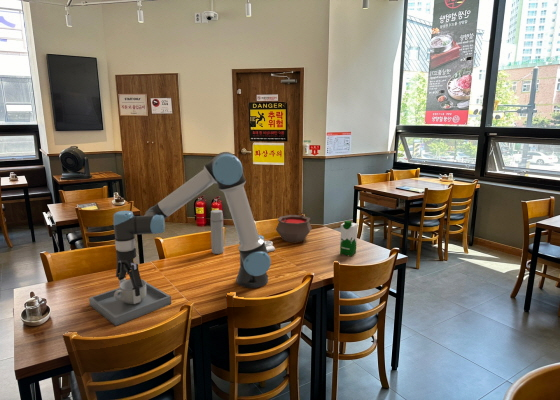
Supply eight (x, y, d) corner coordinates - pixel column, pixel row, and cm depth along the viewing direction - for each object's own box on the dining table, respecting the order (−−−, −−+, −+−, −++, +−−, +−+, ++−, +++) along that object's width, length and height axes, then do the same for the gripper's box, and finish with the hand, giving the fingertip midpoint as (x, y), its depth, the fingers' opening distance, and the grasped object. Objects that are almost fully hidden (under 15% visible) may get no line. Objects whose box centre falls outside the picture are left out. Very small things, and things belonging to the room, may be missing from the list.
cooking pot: (288, 231, 264) (288, 208, 260) (318, 237, 250) (319, 214, 247) (268, 240, 244) (268, 216, 241) (299, 247, 231) (299, 221, 227)
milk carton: (338, 254, 220) (339, 221, 215) (344, 249, 227) (345, 217, 223) (352, 257, 215) (353, 223, 211) (358, 252, 222) (359, 219, 218)
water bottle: (221, 255, 218) (220, 213, 212) (209, 254, 219) (207, 212, 214) (227, 249, 227) (226, 209, 221) (214, 248, 228) (213, 208, 223)
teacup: (141, 292, 168) (139, 276, 166) (152, 300, 160) (150, 283, 159) (109, 303, 158) (107, 285, 157) (119, 312, 151) (117, 294, 149)
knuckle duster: (252, 256, 217) (241, 249, 229) (279, 250, 226) (267, 244, 238) (252, 250, 216) (241, 243, 229) (279, 245, 226) (267, 239, 238)
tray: (171, 303, 160) (170, 296, 159) (115, 326, 143) (114, 317, 142) (143, 287, 176) (142, 280, 175) (89, 305, 159) (89, 297, 158)
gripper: (149, 253, 149) (152, 303, 154) (121, 240, 165) (125, 286, 169) (130, 258, 144) (135, 310, 148) (104, 244, 159) (109, 292, 164)
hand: (130, 298), depth 159 cm, fingers open, 11 cm apart
